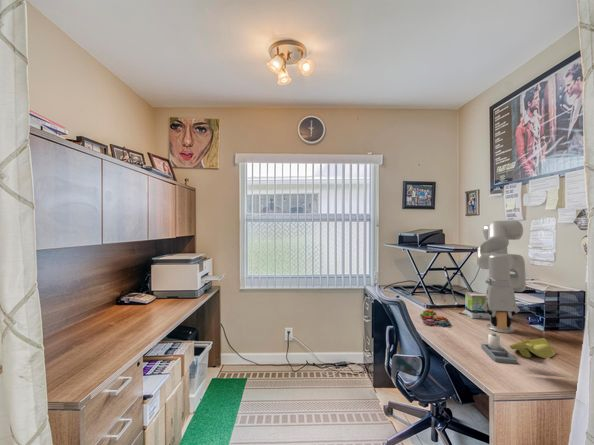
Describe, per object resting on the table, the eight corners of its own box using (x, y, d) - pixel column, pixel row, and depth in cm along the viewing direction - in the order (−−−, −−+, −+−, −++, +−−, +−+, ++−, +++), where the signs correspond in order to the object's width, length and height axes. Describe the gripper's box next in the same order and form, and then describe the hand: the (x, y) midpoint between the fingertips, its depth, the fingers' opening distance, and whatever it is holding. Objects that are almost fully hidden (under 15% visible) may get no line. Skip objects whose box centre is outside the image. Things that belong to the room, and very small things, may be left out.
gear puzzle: (417, 312, 202) (417, 306, 202) (443, 313, 198) (442, 307, 198) (424, 326, 172) (423, 319, 172) (454, 328, 168) (454, 321, 168)
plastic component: (524, 340, 142) (547, 337, 134) (532, 357, 139) (556, 354, 131) (504, 346, 132) (528, 343, 124) (512, 364, 128) (537, 362, 121)
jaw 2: (487, 348, 136) (486, 331, 136) (497, 349, 135) (497, 332, 135) (490, 352, 132) (490, 335, 132) (501, 353, 131) (501, 335, 131)
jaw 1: (497, 329, 124) (496, 310, 124) (493, 325, 128) (492, 307, 129) (509, 329, 123) (508, 311, 123) (504, 326, 127) (504, 308, 127)
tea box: (472, 318, 184) (471, 295, 184) (465, 314, 194) (464, 291, 194) (497, 319, 182) (497, 295, 183) (489, 314, 192) (488, 292, 192)
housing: (480, 348, 138) (480, 343, 138) (501, 350, 136) (501, 345, 136) (493, 363, 123) (493, 357, 123) (518, 366, 121) (518, 360, 121)
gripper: (480, 284, 125) (482, 327, 124) (526, 285, 121) (528, 330, 120) (474, 281, 132) (475, 322, 131) (517, 282, 128) (519, 324, 127)
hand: (500, 325), depth 126 cm, fingers closed on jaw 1, 4 cm apart
